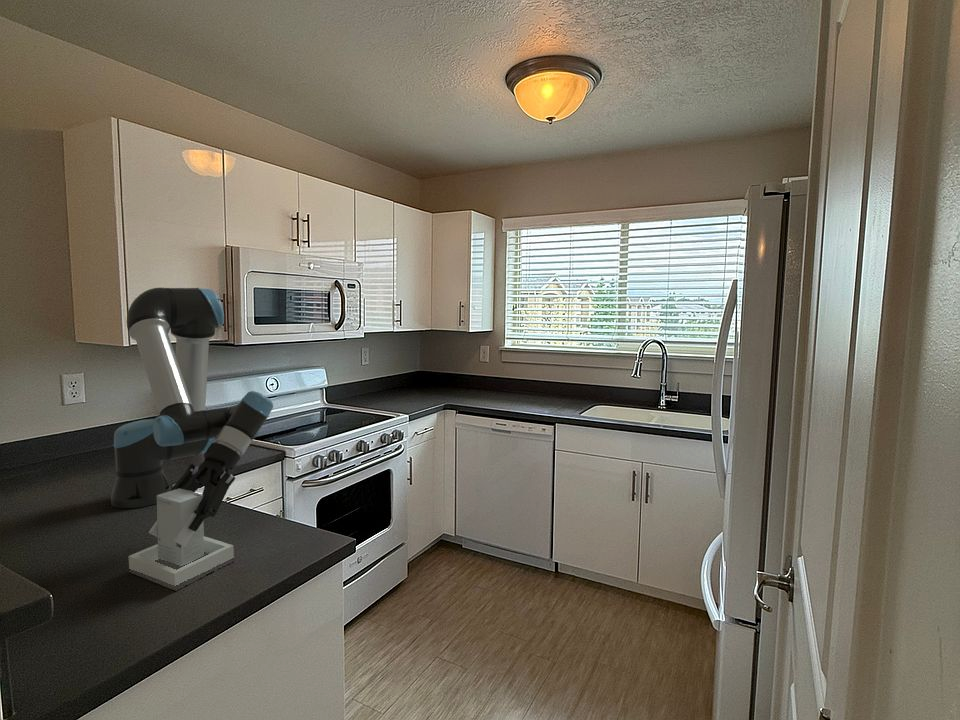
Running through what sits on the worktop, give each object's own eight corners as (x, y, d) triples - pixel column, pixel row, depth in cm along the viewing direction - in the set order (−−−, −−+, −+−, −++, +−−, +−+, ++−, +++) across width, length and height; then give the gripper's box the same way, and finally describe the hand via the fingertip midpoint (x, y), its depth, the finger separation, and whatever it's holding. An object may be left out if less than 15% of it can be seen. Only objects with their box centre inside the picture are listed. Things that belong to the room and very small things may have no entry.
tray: (129, 573, 115) (128, 556, 115) (189, 546, 128) (188, 531, 127) (175, 591, 108) (174, 573, 108) (234, 561, 121) (233, 545, 120)
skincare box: (157, 559, 117) (152, 495, 115) (182, 547, 122) (178, 486, 121) (182, 567, 113) (178, 501, 112) (207, 555, 119) (203, 492, 117)
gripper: (267, 463, 125) (209, 556, 112) (209, 451, 134) (150, 536, 121) (247, 447, 119) (185, 543, 107) (188, 435, 128) (124, 523, 116)
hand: (166, 539), depth 114 cm, fingers closed on skincare box, 8 cm apart
